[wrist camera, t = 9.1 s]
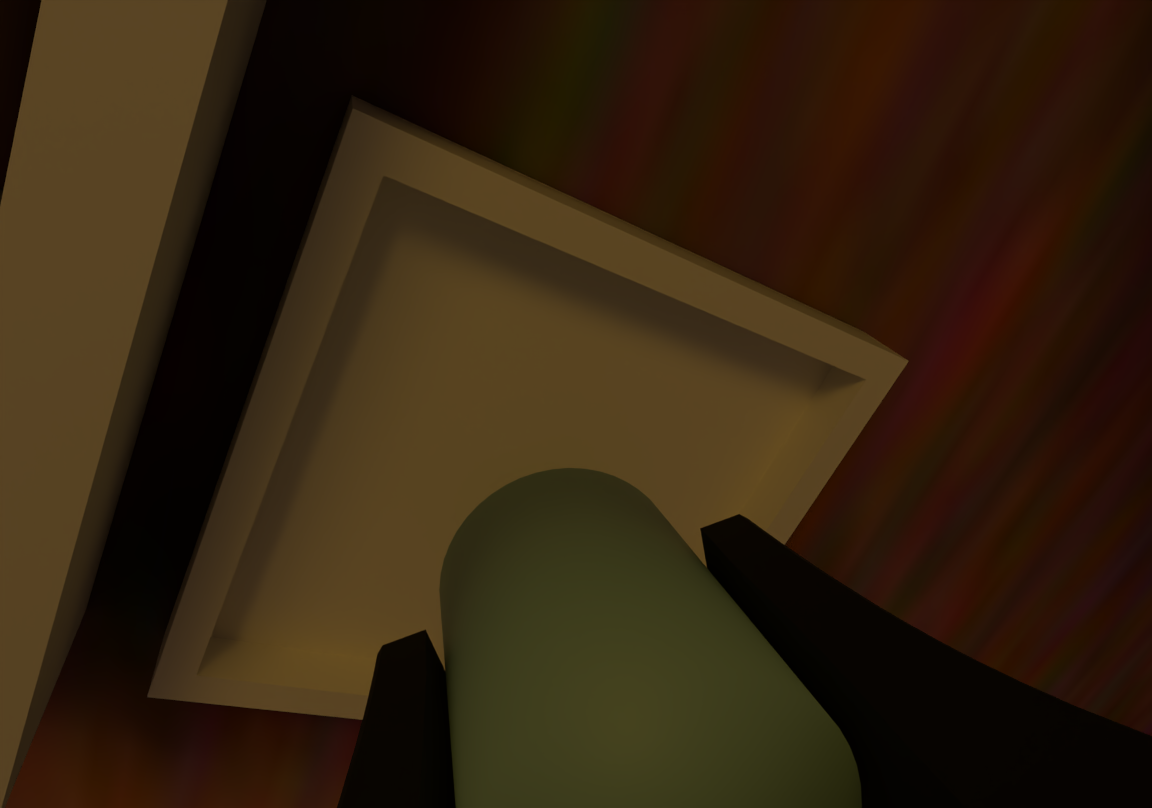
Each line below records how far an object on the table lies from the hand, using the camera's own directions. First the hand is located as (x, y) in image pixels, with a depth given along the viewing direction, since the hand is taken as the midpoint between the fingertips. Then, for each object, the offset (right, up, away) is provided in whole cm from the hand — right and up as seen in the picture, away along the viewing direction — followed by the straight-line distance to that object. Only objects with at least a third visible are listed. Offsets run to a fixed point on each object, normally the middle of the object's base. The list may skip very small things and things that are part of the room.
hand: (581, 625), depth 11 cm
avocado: (0, 0, +2) cm, 2 cm away
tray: (-1, +2, +3) cm, 4 cm away
